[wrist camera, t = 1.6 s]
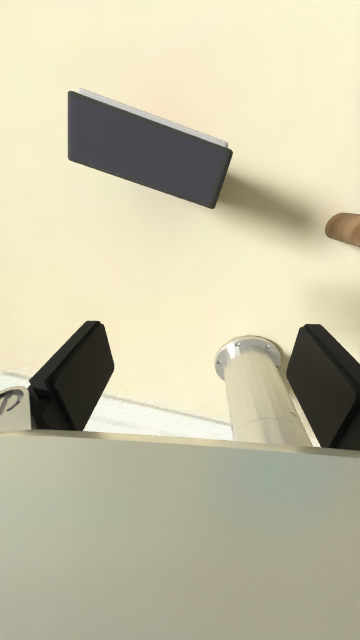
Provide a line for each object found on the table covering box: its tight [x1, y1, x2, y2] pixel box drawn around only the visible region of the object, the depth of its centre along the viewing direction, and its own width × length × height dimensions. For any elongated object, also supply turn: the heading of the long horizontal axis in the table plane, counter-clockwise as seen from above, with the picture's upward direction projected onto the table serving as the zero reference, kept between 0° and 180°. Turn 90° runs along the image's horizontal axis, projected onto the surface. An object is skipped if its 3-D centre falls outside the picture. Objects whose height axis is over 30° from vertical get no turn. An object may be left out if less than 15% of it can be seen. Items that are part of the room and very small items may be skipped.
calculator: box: [68, 88, 233, 209], centre depth 20 cm, size 11×4×15 cm, turn 74°
